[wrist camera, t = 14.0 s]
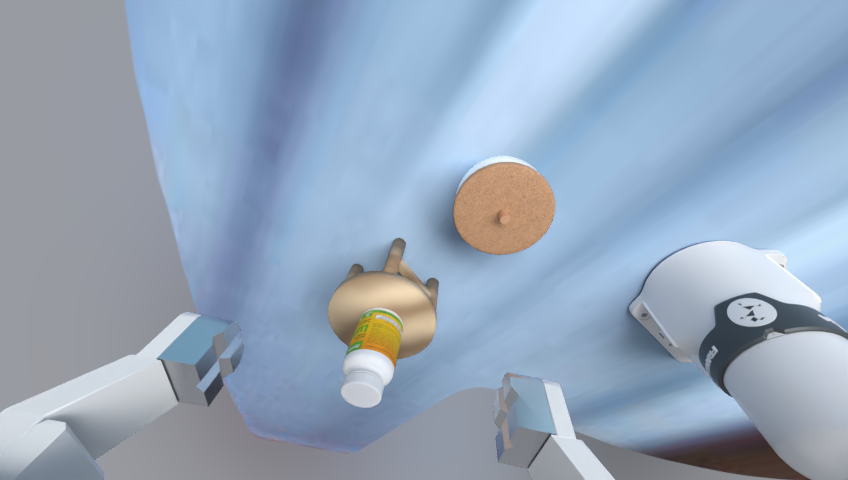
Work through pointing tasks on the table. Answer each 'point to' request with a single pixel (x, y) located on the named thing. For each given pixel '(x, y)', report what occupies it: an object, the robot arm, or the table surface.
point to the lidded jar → (503, 205)
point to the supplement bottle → (371, 357)
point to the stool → (387, 301)
